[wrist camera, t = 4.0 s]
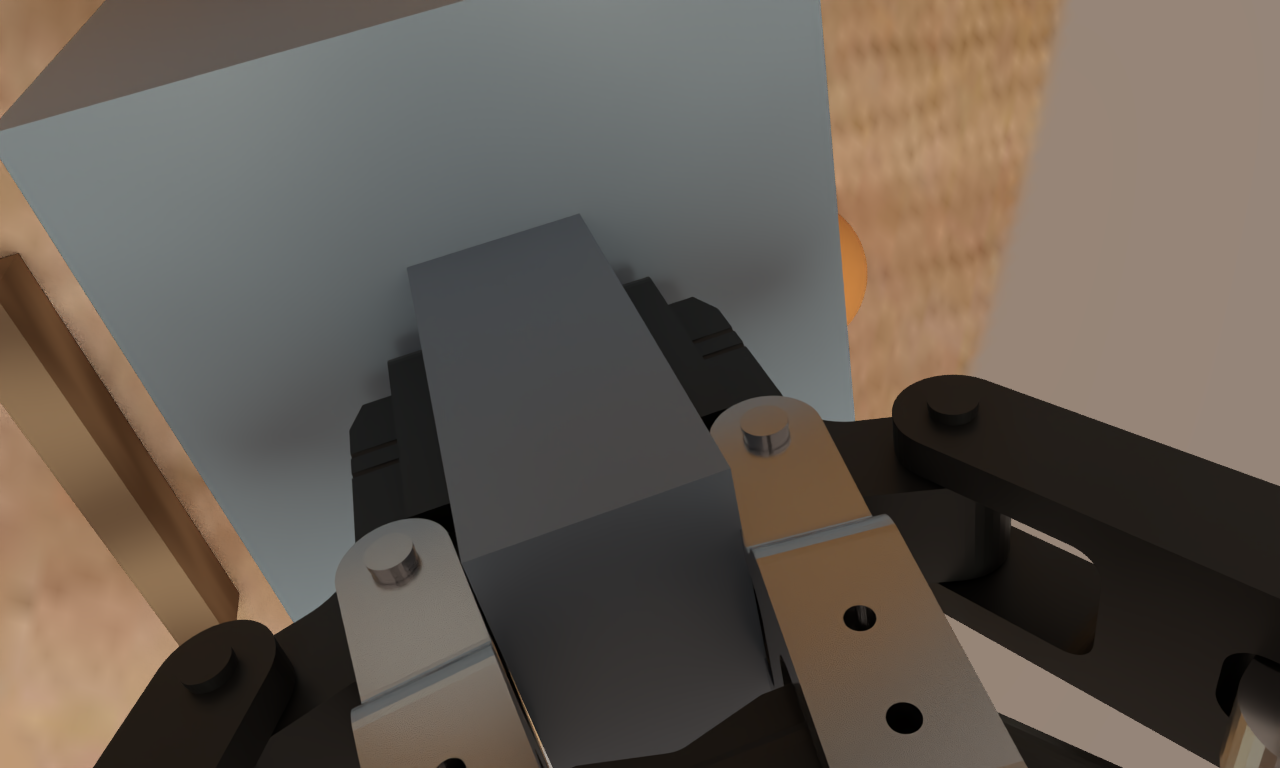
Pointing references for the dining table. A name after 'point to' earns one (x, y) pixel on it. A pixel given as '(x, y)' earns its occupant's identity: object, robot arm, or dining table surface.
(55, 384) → the wall
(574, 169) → the grey block with handle
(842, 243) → the ball
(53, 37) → the dining table surface
